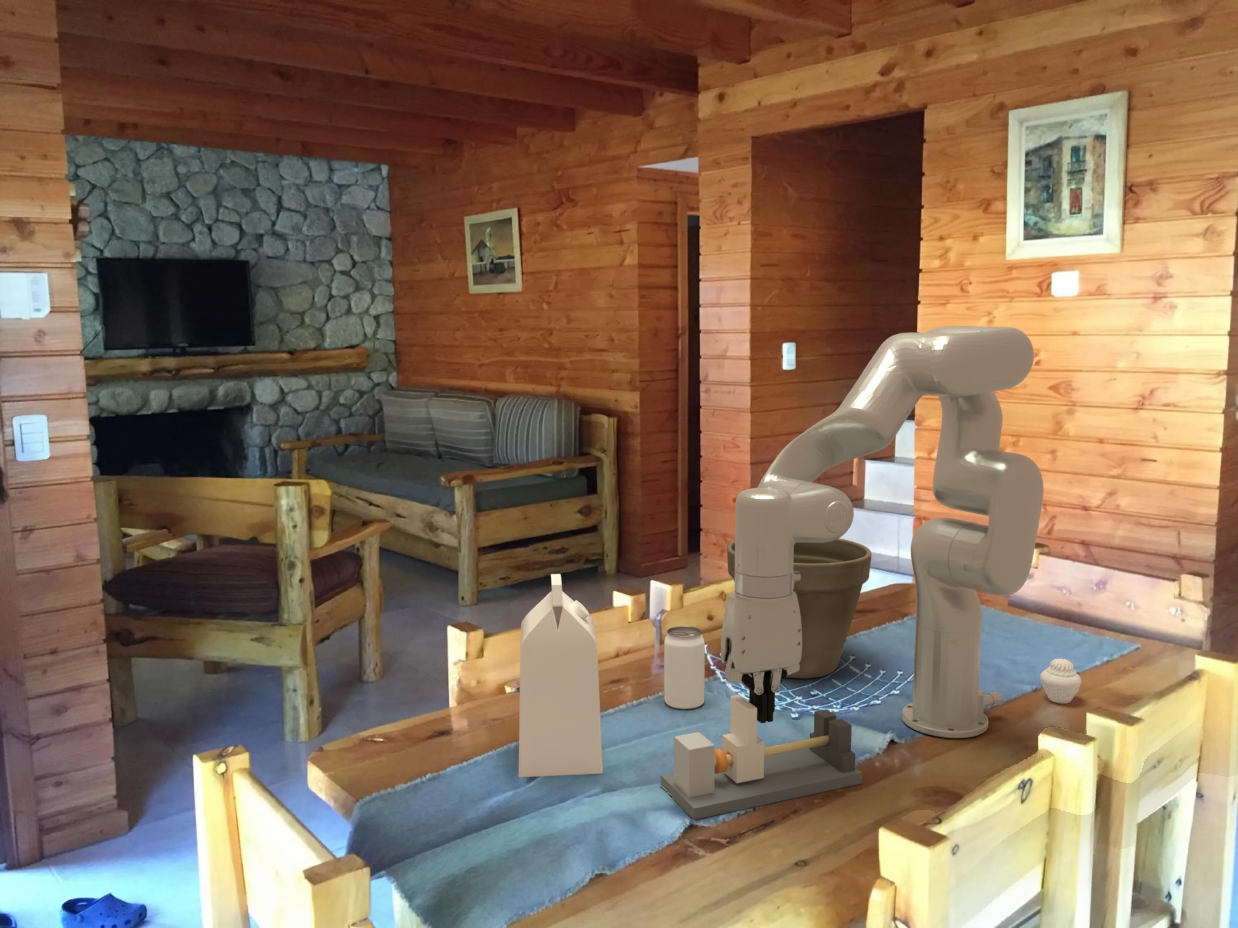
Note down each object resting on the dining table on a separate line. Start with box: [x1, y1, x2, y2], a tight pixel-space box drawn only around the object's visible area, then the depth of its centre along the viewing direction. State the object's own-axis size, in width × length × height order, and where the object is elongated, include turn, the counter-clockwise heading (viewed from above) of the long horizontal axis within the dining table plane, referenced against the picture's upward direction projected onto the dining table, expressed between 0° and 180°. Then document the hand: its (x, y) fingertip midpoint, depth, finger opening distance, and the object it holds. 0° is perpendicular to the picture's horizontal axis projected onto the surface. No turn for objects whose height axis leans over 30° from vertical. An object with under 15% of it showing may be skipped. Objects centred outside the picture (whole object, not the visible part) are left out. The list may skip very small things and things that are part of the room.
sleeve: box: [721, 694, 765, 783], centre depth 133 cm, size 4×5×10 cm
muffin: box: [1039, 658, 1082, 704], centre depth 163 cm, size 6×6×7 cm
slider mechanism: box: [660, 708, 863, 821], centre depth 134 cm, size 25×10×8 cm, turn 112°
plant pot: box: [726, 537, 872, 679], centre depth 179 cm, size 25×25×22 cm
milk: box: [518, 573, 604, 778], centre depth 142 cm, size 12×12×26 cm
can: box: [663, 625, 706, 711], centre depth 163 cm, size 6×6×12 cm
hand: (761, 718), depth 134 cm, fingers closed
